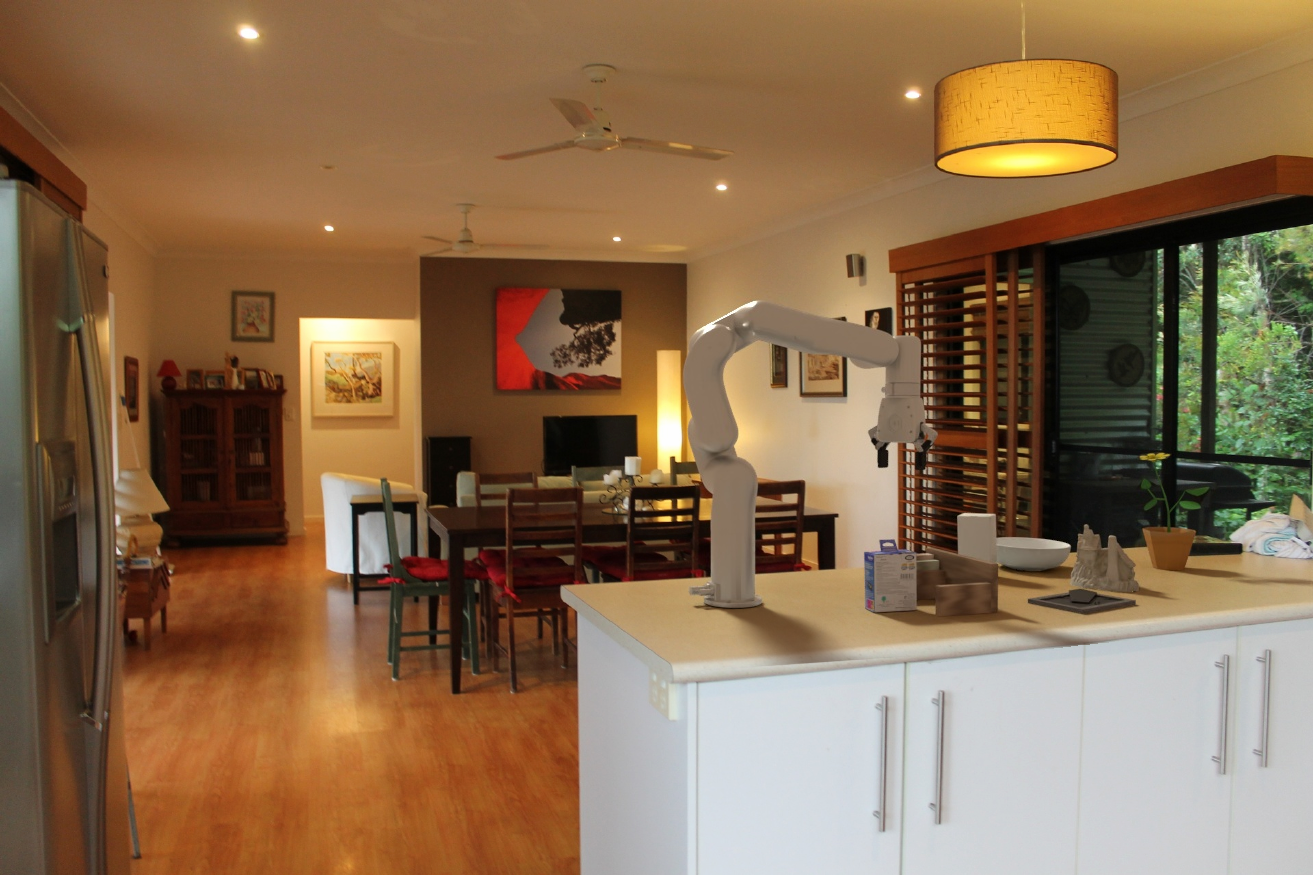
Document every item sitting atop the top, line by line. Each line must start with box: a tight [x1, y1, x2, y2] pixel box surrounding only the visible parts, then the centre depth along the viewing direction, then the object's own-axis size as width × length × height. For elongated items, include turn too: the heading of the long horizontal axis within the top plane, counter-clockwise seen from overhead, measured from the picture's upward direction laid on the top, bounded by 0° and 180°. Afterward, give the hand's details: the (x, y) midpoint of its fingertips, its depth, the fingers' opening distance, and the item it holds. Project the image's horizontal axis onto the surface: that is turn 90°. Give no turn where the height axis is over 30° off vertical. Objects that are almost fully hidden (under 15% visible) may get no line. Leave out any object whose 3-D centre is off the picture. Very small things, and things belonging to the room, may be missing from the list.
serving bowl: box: [996, 536, 1072, 572], centre depth 258 cm, size 21×21×7 cm
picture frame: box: [1027, 588, 1137, 615], centre depth 211 cm, size 13×2×18 cm
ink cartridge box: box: [863, 539, 918, 613], centre depth 206 cm, size 10×6×14 cm, turn 104°
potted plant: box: [1135, 451, 1211, 571], centre depth 257 cm, size 18×19×30 cm
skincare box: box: [956, 512, 998, 564], centre depth 245 cm, size 8×7×16 cm
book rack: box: [916, 547, 999, 617], centre depth 213 cm, size 14×24×10 cm, turn 17°
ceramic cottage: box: [1069, 524, 1140, 593], centre depth 234 cm, size 16×16×15 cm
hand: (901, 468), depth 219 cm, fingers open, 9 cm apart
